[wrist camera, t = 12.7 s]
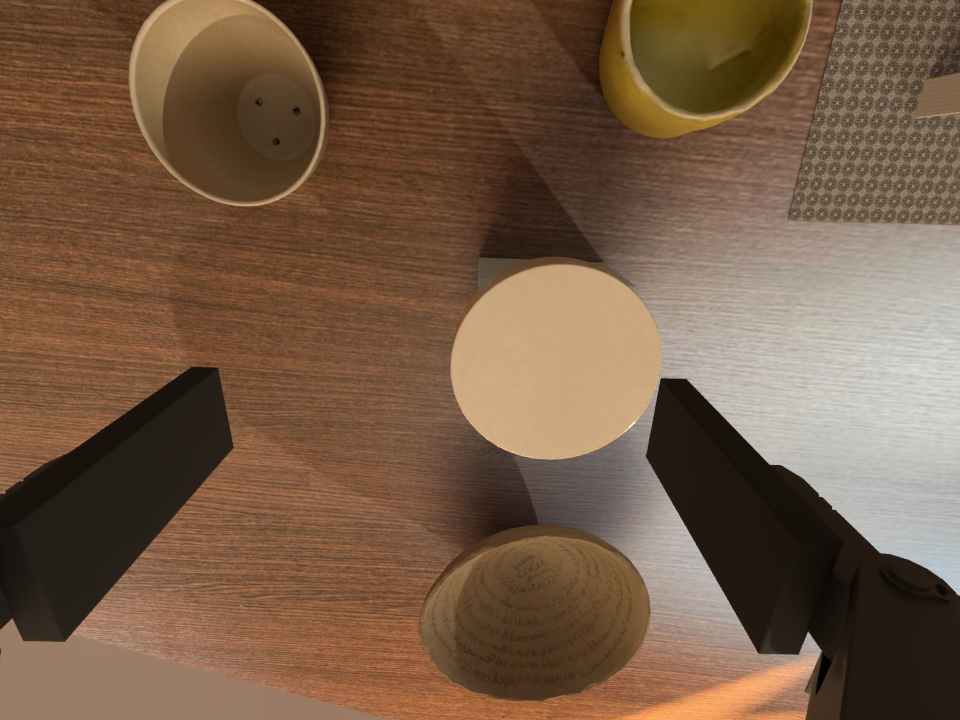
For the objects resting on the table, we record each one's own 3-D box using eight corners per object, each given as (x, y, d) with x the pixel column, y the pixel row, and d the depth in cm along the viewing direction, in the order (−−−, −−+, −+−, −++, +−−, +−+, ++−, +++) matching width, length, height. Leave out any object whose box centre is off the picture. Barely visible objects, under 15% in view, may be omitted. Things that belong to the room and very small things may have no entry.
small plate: (454, 251, 27) (452, 258, 25) (664, 260, 27) (681, 268, 25) (450, 436, 31) (448, 456, 29) (631, 443, 32) (642, 463, 29)
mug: (770, 145, 30) (824, 92, 21) (604, 166, 34) (586, 129, 24) (781, -76, 28) (847, -245, 19) (602, -29, 31) (582, -153, 22)
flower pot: (218, 198, 33) (152, 204, 27) (190, 28, 30) (105, -15, 23) (361, 201, 33) (332, 208, 27) (351, 32, 30) (313, -9, 23)
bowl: (625, 619, 48) (652, 701, 40) (444, 635, 49) (437, 718, 41) (623, 462, 41) (654, 526, 34) (412, 484, 42) (397, 551, 34)
